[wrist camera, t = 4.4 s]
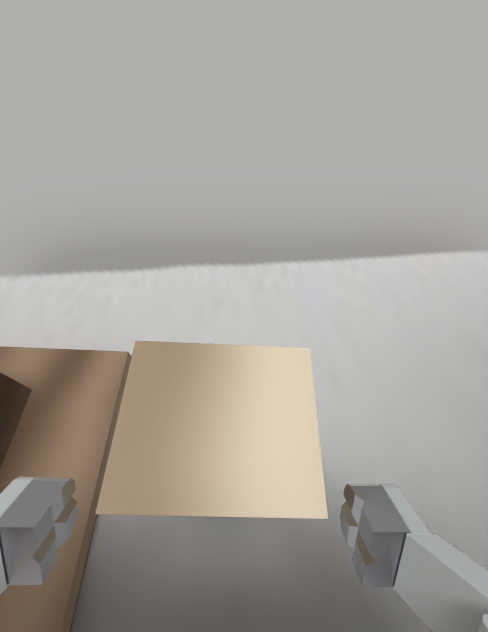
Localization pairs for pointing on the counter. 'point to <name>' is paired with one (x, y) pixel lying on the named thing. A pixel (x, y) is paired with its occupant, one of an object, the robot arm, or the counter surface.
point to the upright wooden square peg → (216, 434)
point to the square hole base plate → (57, 459)
